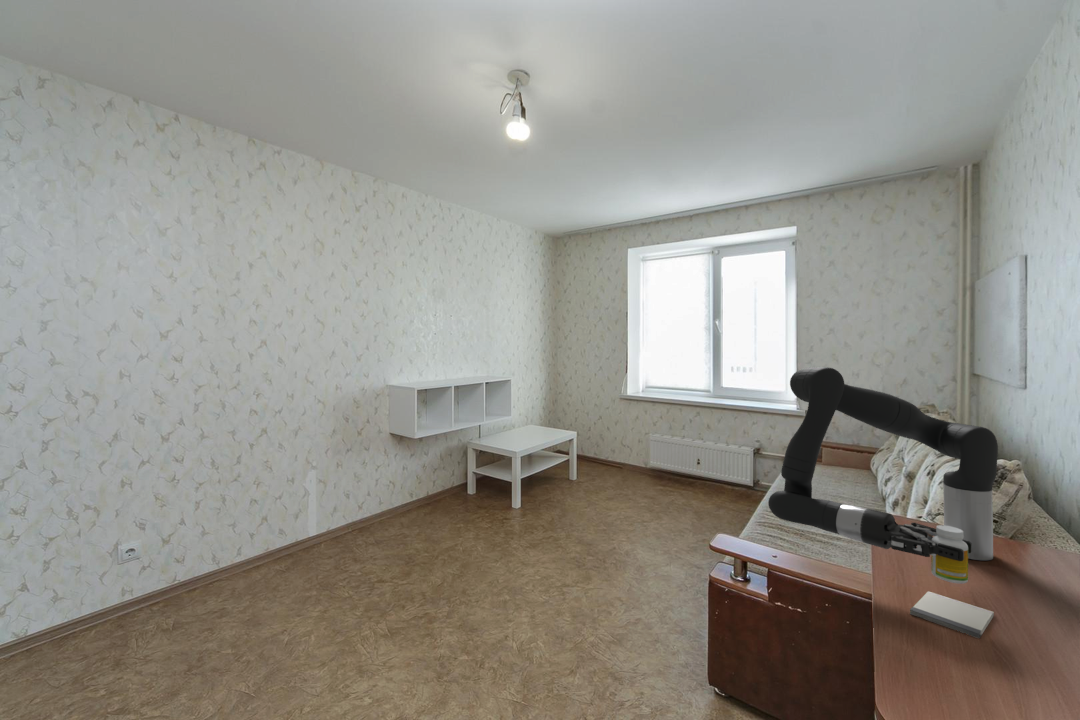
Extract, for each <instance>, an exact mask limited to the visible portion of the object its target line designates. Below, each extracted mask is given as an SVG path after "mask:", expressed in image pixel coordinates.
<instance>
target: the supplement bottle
mask: <svg viewBox="0 0 1080 720" xmlns="http://www.w3.org/2000/svg"><path fill="white" fill-rule="evenodd" d="M935 527H936V528H935V529H936V533H937V534H938V536H932V537H933V538H932V541H934V542H936V543H937V545H938V543H940V544H944V545H948V546H952V547H956V548H960V549H962V550H963V551H964V560H963V561H957V560H953V559H950V558H946V557H942V556H939V555H938V554H937V556H932V555H931V561H930V562H931V564H930V565H931V567H930V569H931V571H930V572H931V574H932V575H933V576H934V577H936V578H937V579H940V580H942V581H945V582H948V583H953V584H966V583H968V582H969V559H968V545H967V544H966V543H965V542H964V541H962V539H963V537H964V535H963V531H962V530H961V529H958V528H955V527H951V526H946V525H944V524H938V525H936V526H935Z"/></svg>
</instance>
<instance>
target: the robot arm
mask: <svg viewBox="0 0 1080 720" xmlns="http://www.w3.org/2000/svg"><path fill="white" fill-rule="evenodd" d="M789 385H790V390H791V391H792V393H793V394H794V396H796V397H797V398H798V399H799V400H801V401H803V402H805V403H808V404H807V405H808V406H807V410H806V413H805V416H804V419H803V420H802V423H800V425H799V427H798V429H797V431H795V433H794V435H793V436H792V437H791V439H790V440H789V443H787V444H788V445H787V447H786V449H785V454H784V458H783V462H782V466H781V471H780V472H781V477H782V478H783V479H784V489H783V490H778V491H775V492H773V493H772V494H771V495H770V497H769V498H768V507H769V508H768V509H769V510H770V512H771V513H772V515H774V516H775V517H776V518H778V519H780V520H784V521H786V522H790V523H795V524H800V525H804V526H805V525H806V526H809V527H810V526H811V527H814V528H818V529H820V530H822V531H825V532H830V533H833V534H837V535H839V536H843V537H846V538H848V539H850V540H854V541H857V542H861V543H863V544H867V545H871V546H874V547H878V548H881V549H885V550H889V549H892V550H894V551H898V552H904V553H907V554H912V555H916V556H921V557H925V558H930V556H931V557H932V556H937V554H938V555H939V556H942V557H946V558H950V559H953V560H957V561H963V560H964V551H963V550H962V549H960V548H956V547H952V546H948V545H944V544H940V543H938V545H937V543H936V542H934V541H932V538H933V537H934V536H938V534H937V533H936V528H934V527H931V526H927V525H924V524H920V523H917V522H911V523H910V524H907V523H904V524H899V523H897V522H896V519H895V517H894V515H893V514H891V513H890V512H889V513H888V512H884V511H881V510H876V509H872V508H867V507H863V506H859V505H855V504H854V505H853V504H846V503H841V502H838V501H837V502H836V501H833V500H828V499H821V498H820V499H819V498H813V497H812V495H813V485H812V484H813V482H812V481H813V478H814V475H815V469H816V466H817V462H818V458H819V453H820V450H821V447H822V444H823V441H824V439H825V437H826V434H827V431H828V430H829V426H830V424H831V422H832V419H833V418H834V414H836V413H835V412H836V411H838V412H839V413H842V414H844V415H846V416H849V417H850V418H852V419H854V420H857V421H860V422H862V423H864V424H867V425H869V426H871V427H874V428H875V429H879V430H882V431H883V432H887V433H889V434H892V435H895V436H898V437H902V438H905V439H910V440H913V441H916V442H918V443H921V444H923V445H925V446H927V447H929V448H931V449H933V450H935V451H937V452H938V453H941V454H943V455H944V456H947V457H950V458H954V459H958V460H959V465H958V466H959V467H958V469H957V470H955V471H954V470H953V471H952V470H951V471H947V472H944V473H943V478H942V480H943V481H942V482H943V483H942V484H943V487H942V488H943V525H946V526H951V527H955V528H958V529H961V530H962V531H963V535H964V537H963V539H962V541H964V542H965V543H966V544H967V545H968V560H975V561H985V562H986V561H992V560H993V559H994V524H993V523H994V522H993V521H994V517H993V516H994V514H993V513H994V510H993V505H994V504H993V503H994V502H993V484H994V482H995V480H996V477H997V470H998V455H999V454H998V451H999V448H998V447H999V446H998V440H997V438H996V436H995V434H994V433H993V432H992V431H991V430H990V429H989V428H987V427H983V426H980V425H979V426H978V425H972V424H964V423H960V422H959V423H958V422H950V421H946V420H942V419H940V418H939V419H938V418H937V417H936V418H935V417H933V416H930V415H927V414H925V413H924V412H923V411H922V410H921V409H920V408H918V407H917V406H916V405H915V404H913V403H911V402H909V401H907V400H905V399H903V398H899V397H897V396H894V395H892V394H890V393H886V392H882V391H878V390H873V389H868V388H863V387H860V386H859V387H858V386H855V385H848V384H846V383H845V380H844V376H843V375H842V373H840V371H838V370H837V369H835V368H833V367H829V366H828V367H826V366H816V367H815V366H814V367H813V366H812V367H811V366H810V367H803V368H801V369H798V370H797V371H795V372H794V373H793V374H792V376H791V377H790V380H789Z"/></svg>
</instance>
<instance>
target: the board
mask: <svg viewBox="0 0 1080 720" xmlns="http://www.w3.org/2000/svg"><path fill="white" fill-rule="evenodd" d="M994 614H995V613H994V611H991V610H989V609H985V608H982V607H980V606H976V605H973V604H970V603H967V602H964V601H960V600H958V599H954V598H951V597H948V596H944V595H941V594H939V593H936V592H931V591H929V590H928V591H926V593H925V594H924V595H923V596H922V597H921V598H920V599H919V600H918V601H917V602H916V603H915V604H914V606H912V607H911V608H910V609H909V615H911V616H915V617H917V618H921V619H922V620H926V621H928V622H931V623H934V624H937V625H940V626H943V627H945V628H948V629H951V630H953V631H956V630H957V631H956V632H959V631H960V632H959V633H962V634H964V633H966V634H965V635H967V634H968V635H967V636H970V635H971V636H970V637H974V638H976V639H978V638H979V639H981V637H982V635H983V633H984V632H985V630H986V629H987V628H988V626H989V624H990V623H991V621H992V619H993V618H994V617H995V616H994Z"/></svg>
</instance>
